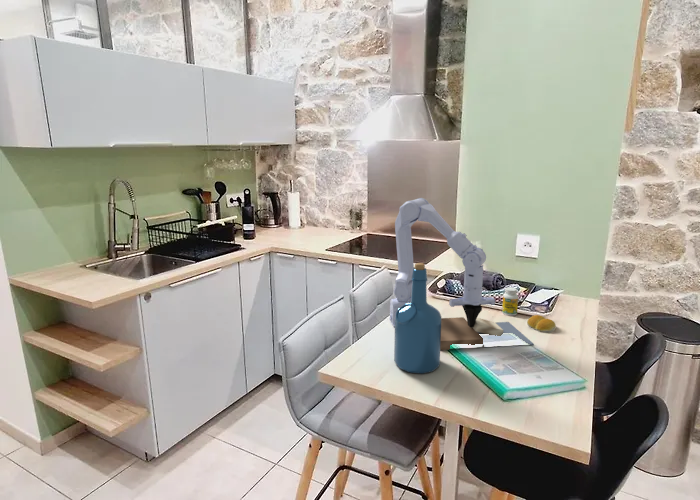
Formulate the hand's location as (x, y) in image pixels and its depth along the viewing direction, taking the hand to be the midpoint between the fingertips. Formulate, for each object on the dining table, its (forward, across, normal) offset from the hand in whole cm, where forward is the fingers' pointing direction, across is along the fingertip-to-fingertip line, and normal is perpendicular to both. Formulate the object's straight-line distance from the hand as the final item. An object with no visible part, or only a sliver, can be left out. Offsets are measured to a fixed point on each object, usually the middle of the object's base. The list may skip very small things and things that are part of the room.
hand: (470, 325), depth 147 cm
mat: (+4, +9, 0) cm, 10 cm away
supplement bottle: (+4, +22, +18) cm, 28 cm away
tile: (+2, +5, 0) cm, 5 cm away
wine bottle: (+4, -22, -17) cm, 28 cm away
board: (+4, -6, 0) cm, 7 cm away
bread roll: (+4, +27, +4) cm, 27 cm away
